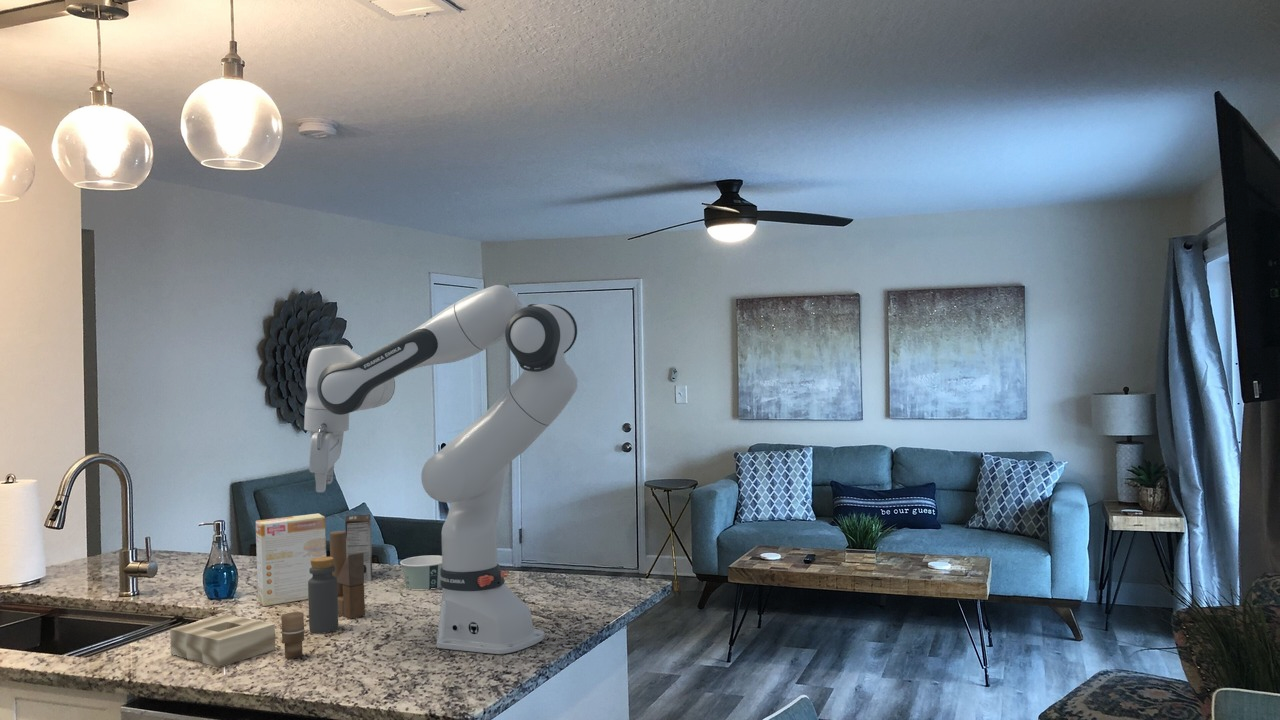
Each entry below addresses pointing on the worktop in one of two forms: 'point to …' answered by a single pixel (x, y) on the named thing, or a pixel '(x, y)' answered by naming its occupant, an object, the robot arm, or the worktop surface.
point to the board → (222, 640)
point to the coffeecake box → (287, 556)
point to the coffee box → (360, 540)
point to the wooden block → (348, 577)
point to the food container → (422, 571)
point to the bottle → (322, 596)
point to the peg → (293, 634)
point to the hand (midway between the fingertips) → (324, 487)
